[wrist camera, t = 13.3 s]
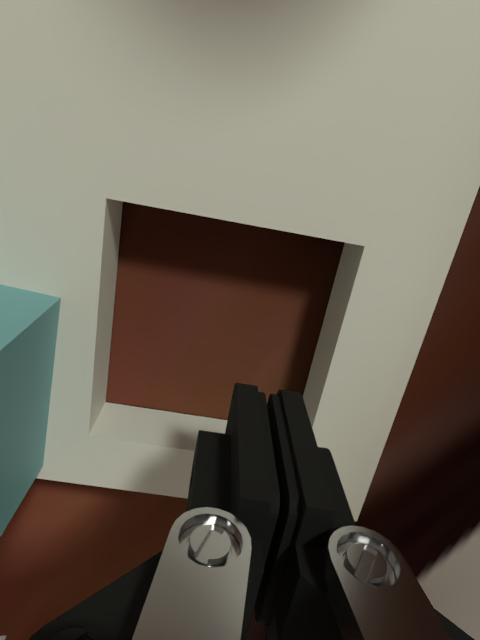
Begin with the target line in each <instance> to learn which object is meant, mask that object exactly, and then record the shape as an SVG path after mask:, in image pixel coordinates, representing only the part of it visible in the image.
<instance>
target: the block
mask: <svg viewBox="0 0 480 640" xmlns="http://www.w3.org/2000/svg"><path fill="white" fill-rule="evenodd" d="M60 302H61V298H60V297H55V296H51V295H46V294H42V293H37V292H33V291H28V290H24V289H19V288H15V287H10V286H6V285H1V284H0V537H1V535H2V533H3V532H4V530H5V528H6V527H7V525H8V523H9V522H10V520H11V518H12V517H13V515H14V513H15V512H16V510H17V508H18V507H19V505H20V503H21V502H22V500H23V498H24V497H25V495H26V493H27V492H28V490H29V488H30V487H31V485H32V483H33V482H34V480H35V478H36V477H37V475H38V473H39V472H40V470H41V468H42V467H43V461H44V452H45V442H46V433H47V424H48V414H49V405H50V396H51V386H52V377H53V367H54V358H55V349H56V339H57V330H58V321H59V311H60Z"/></svg>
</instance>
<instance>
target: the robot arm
mask: <svg viewBox="0 0 480 640" xmlns="http://www.w3.org/2000/svg"><path fill="white" fill-rule="evenodd" d="M254 605H255V618H256V622H259V623H264V626H265V639H266V640H474V639H473V638H472V637H470V636H469V635H467V634H466V633H465V632H464V631H463V630H461V629H460V628H458V627H457V626H456V625H455V624H454V623H452V622H451V621H450V620H448V619H447V618H446V617H444V616H443V615H442V614H441V613H439V612H438V611H437V610H435V609H434V608H433V606H432V605H431V603H430V601H429V599H428V598H427V596H426V594H425V593H424V591H423V589H422V588H421V586H420V584H419V582H418V581H417V579H416V577H415V576H414V574H413V572H412V571H411V569H410V567H409V565H408V564H407V562H406V560H405V559H404V557H403V556H402V554H401V553H400V552H399V550H398V549H397V548H396V546H394V545H393V544H392V543H391V542H390V541H389V540H388V539H386V538H385V537H383V536H382V535H380V534H378V533H377V532H375V531H373V530H370V529H367V528H364V527H359V526H356V524H355V521H354V519H353V516H352V513H351V510H350V507H349V504H348V501H347V498H346V495H345V492H344V489H343V486H342V483H341V480H340V477H339V474H338V472H337V469H336V466H335V463H334V460H333V457H332V454H331V452H330V450H329V449H327V448H322V447H318V446H317V443H316V439H315V436H314V433H313V429H312V426H311V423H310V419H309V416H308V413H307V409H306V406H305V403H304V399H303V396H302V394H301V393H299V392H292V391H286V390H279V391H278V393H277V395H275V394H270V396H269V399H268V403H267V404H266V397H265V393H262V392H258V387H257V386H253V385H246V384H240V383H236V384H235V387H234V391H233V396H232V401H231V406H230V410H229V415H228V420H227V425H226V430H225V434H224V433H217V432H210V431H203V430H199V432H198V436H197V442H196V447H195V453H194V459H193V465H192V471H191V478H190V485H189V492H188V500H187V509H186V512H185V513H183V514H182V515H181V516H180V517H179V518H177V519H176V521H175V522H174V524H173V526H172V528H171V530H170V532H169V535H168V538H167V541H166V544H165V547H164V550H163V551H161V552H160V553H158V554H156V555H155V556H153V557H152V558H150V559H149V560H147V561H145V562H144V563H142V564H141V565H139V566H138V567H136V568H134V569H133V570H131V571H130V572H128V573H126V574H125V575H123V576H122V577H120V578H119V579H117V580H115V581H114V582H112V583H111V584H109V585H108V586H106V587H104V588H103V589H101V590H100V591H98V592H97V593H95V594H93V595H92V596H90V597H89V598H87V599H86V600H84V601H82V602H81V603H79V604H78V605H76V606H75V607H73V608H71V609H70V610H68V611H67V612H65V613H64V614H62V615H60V616H59V617H57V618H56V619H54V620H53V621H51V622H49V623H48V624H46V625H45V626H43V627H42V628H41V629H40V630H39V631H37V632H36V633H35V634H34V635H32V636H31V637H30V638H29V640H245V638H246V634H247V630H248V627H249V623H250V620H251V616H252V612H253V609H254ZM0 640H6V635H4V636H0Z"/></svg>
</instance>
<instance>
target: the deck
mask: <svg viewBox="0 0 480 640" xmlns="http://www.w3.org/2000/svg"><path fill="white" fill-rule="evenodd" d="M479 186H480V0H0V284H1V285H6V286H10V287H15V288H19V289H24V290H28V291H33V292H37V293H42V294H46V295H51V296H55V297H60V298H61V302H60V311H59V321H58V330H57V339H56V349H55V358H54V367H53V377H52V386H51V396H50V405H49V414H48V424H47V433H46V442H45V452H44V461H43V467H42V468H41V470H40V472H39V473H38V475H37V477H36V478H38V479H46V480H53V481H61V482H68V483H75V484H83V485H90V486H98V487H105V488H113V489H120V490H128V491H135V492H143V493H150V494H157V495H165V496H172V497H180V498H187V499H188V492H189V485H190V478H191V471H192V465H193V459H194V453H195V447H196V442H197V436H198V432H199V430H203V431H210V432H217V433H224V434H225V430H226V425H227V420H221V419H214V418H207V417H201V416H194V415H187V414H181V413H174V412H167V411H161V410H154V409H147V408H140V407H134V406H127V405H120V404H114V403H107V402H106V391H107V380H108V368H109V357H110V345H111V334H112V322H113V311H114V299H115V288H116V276H117V265H118V253H119V241H120V230H121V218H122V207H123V202H129V203H134V204H140V205H145V206H150V207H156V208H161V209H167V210H172V211H177V212H183V213H188V214H194V215H199V216H204V217H210V218H215V219H221V220H226V221H231V222H237V223H242V224H248V225H253V226H258V227H264V228H269V229H275V230H280V231H285V232H291V233H296V234H302V235H307V236H312V237H318V238H323V239H329V240H334V241H339V242H345V243H344V247H343V251H342V254H341V258H340V262H339V265H338V269H337V273H336V276H335V280H334V284H333V287H332V291H331V295H330V298H329V302H328V306H327V309H326V313H325V317H324V320H323V324H322V328H321V331H320V335H319V339H318V343H317V346H316V350H315V354H314V357H313V361H312V365H311V368H310V372H309V376H308V379H307V383H306V387H305V390H304V394H303V399H304V403H305V406H306V409H307V413H308V416H309V419H310V423H311V426H312V429H313V433H314V436H315V439H316V443H317V446H318V447H322V448H327V449H329V450H330V452H331V454H332V457H333V460H334V463H335V466H336V469H337V472H338V474H339V477H340V480H341V483H342V486H343V489H344V492H345V495H346V498H347V501H348V504H349V507H350V510H351V513H352V516H353V519H354V521H357V520H358V517H359V514H360V511H361V509H362V506H363V503H364V501H365V498H366V495H367V492H368V490H369V487H370V484H371V481H372V479H373V476H374V473H375V470H376V468H377V465H378V462H379V460H380V457H381V454H382V451H383V449H384V446H385V443H386V440H387V438H388V435H389V432H390V429H391V427H392V424H393V421H394V419H395V416H396V413H397V410H398V408H399V405H400V402H401V399H402V397H403V394H404V391H405V388H406V386H407V383H408V380H409V378H410V375H411V372H412V369H413V367H414V364H415V361H416V358H417V356H418V353H419V350H420V347H421V345H422V342H423V339H424V336H425V334H426V331H427V328H428V326H429V323H430V320H431V317H432V315H433V312H434V309H435V306H436V304H437V301H438V298H439V295H440V293H441V290H442V287H443V285H444V282H445V279H446V276H447V274H448V271H449V268H450V265H451V263H452V260H453V257H454V254H455V252H456V249H457V246H458V244H459V241H460V238H461V235H462V233H463V230H464V227H465V224H466V222H467V219H468V216H469V213H470V211H471V208H472V205H473V203H474V200H475V197H476V194H477V192H478V189H479Z"/></svg>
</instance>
